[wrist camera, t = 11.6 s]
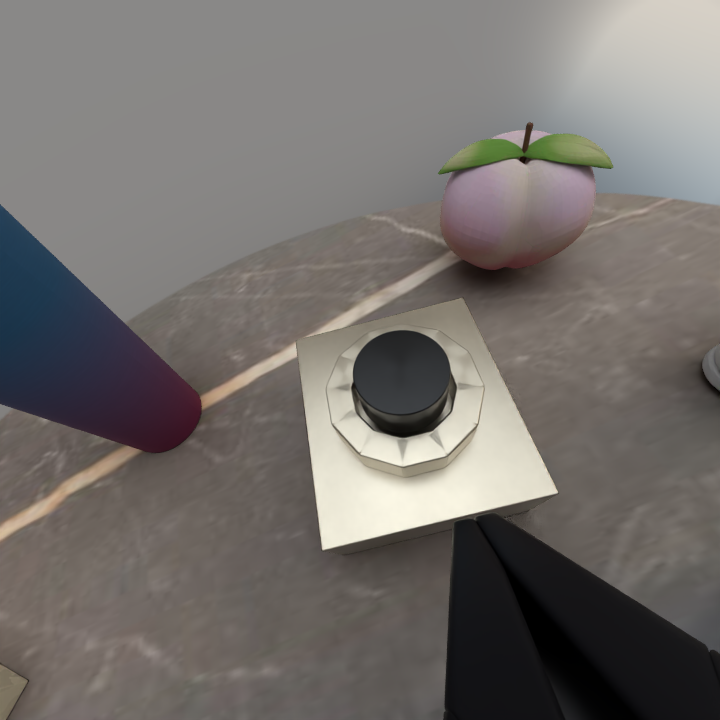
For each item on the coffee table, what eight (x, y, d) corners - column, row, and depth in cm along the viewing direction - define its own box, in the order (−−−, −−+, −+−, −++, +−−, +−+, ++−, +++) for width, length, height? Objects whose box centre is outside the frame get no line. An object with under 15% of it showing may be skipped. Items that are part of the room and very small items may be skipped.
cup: (107, 472, 23) (-288, 349, 10) (135, 381, 26) (-131, 205, 14) (205, 460, 22) (-83, 314, 9) (220, 368, 26) (25, 173, 13)
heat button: (460, 420, 15) (465, 400, 13) (369, 442, 15) (362, 426, 13) (431, 345, 17) (432, 319, 15) (352, 365, 17) (344, 342, 15)
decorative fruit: (549, 220, 28) (603, 73, 20) (573, 297, 24) (654, 152, 16) (432, 230, 30) (436, 96, 22) (436, 303, 26) (444, 174, 17)
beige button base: (529, 510, 18) (576, 484, 13) (343, 555, 18) (309, 549, 13) (456, 342, 24) (466, 273, 18) (315, 377, 24) (284, 321, 19)
